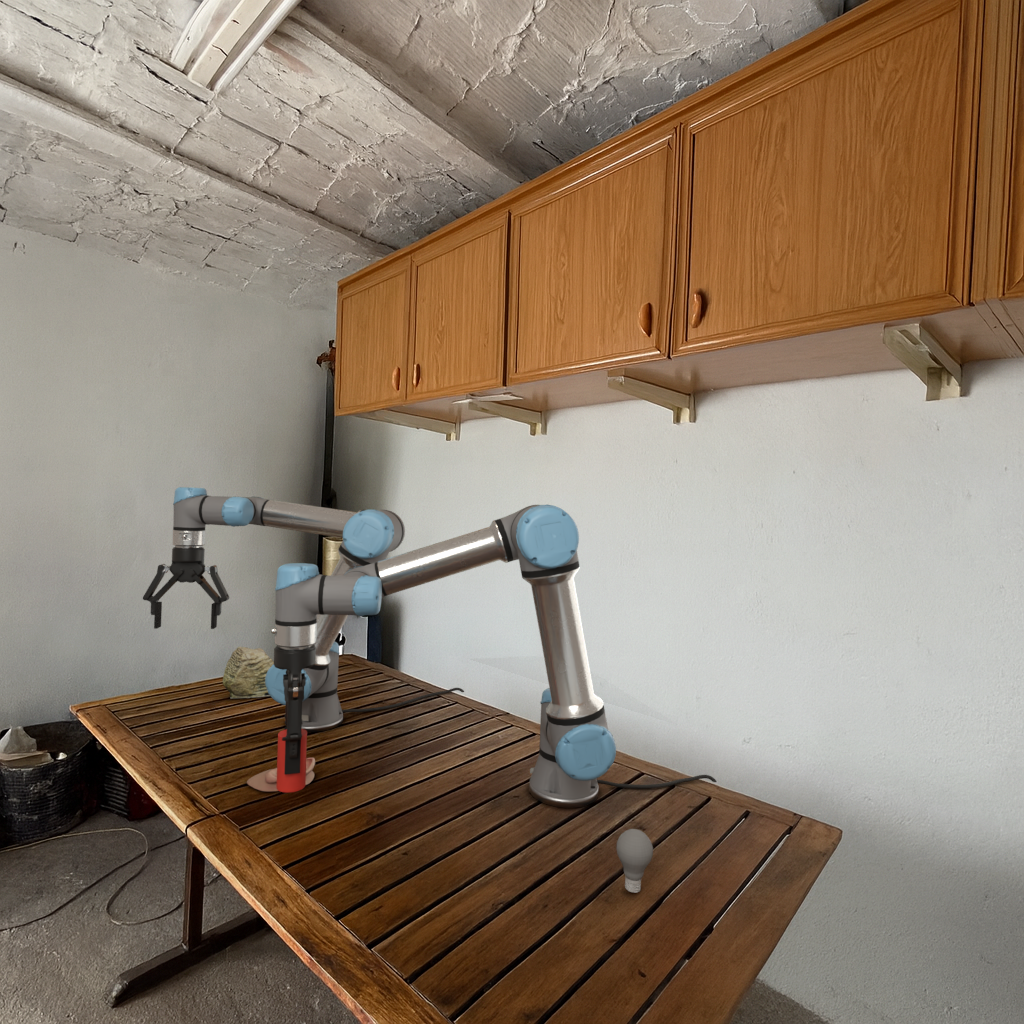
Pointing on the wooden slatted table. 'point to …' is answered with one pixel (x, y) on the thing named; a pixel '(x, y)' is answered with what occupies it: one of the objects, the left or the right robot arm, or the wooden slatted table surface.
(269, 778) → the anatomical model
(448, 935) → the wooden slatted table surface
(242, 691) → the fossil
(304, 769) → the cylinder
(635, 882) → the light bulb
